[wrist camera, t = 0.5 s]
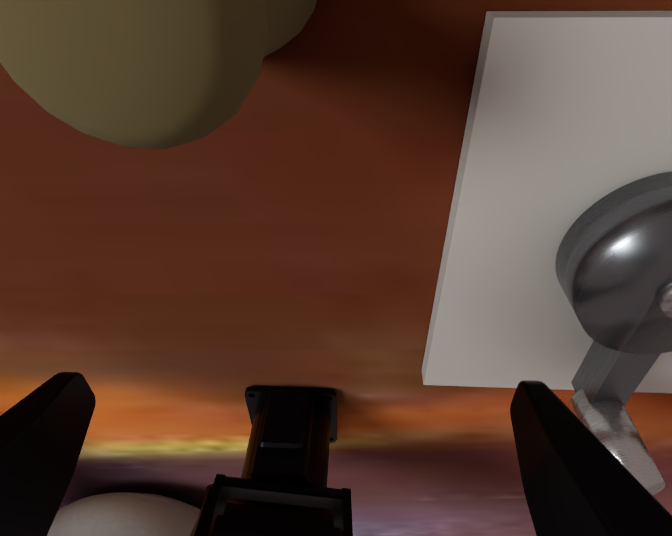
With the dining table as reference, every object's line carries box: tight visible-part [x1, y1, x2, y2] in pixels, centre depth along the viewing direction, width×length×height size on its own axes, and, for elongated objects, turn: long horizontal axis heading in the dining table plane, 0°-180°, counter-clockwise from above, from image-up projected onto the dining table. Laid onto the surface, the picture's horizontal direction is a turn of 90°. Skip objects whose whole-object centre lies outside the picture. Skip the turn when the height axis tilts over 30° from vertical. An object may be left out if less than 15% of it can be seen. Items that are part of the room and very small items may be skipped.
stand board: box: [422, 11, 672, 393], centre depth 22 cm, size 21×21×2 cm
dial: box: [555, 172, 672, 495], centre depth 20 cm, size 14×8×7 cm, turn 1°
